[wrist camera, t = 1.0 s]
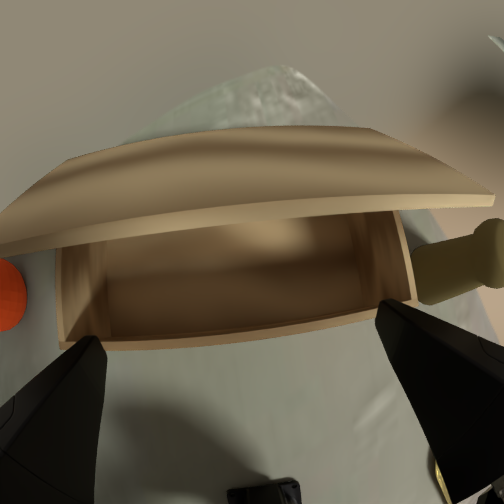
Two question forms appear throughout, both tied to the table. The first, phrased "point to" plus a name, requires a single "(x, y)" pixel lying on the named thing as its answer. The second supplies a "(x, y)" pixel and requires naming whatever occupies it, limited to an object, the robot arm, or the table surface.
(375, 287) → the kraft carton
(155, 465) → the table surface
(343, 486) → the table surface
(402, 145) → the carton flap
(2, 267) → the clementine
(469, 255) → the cork
